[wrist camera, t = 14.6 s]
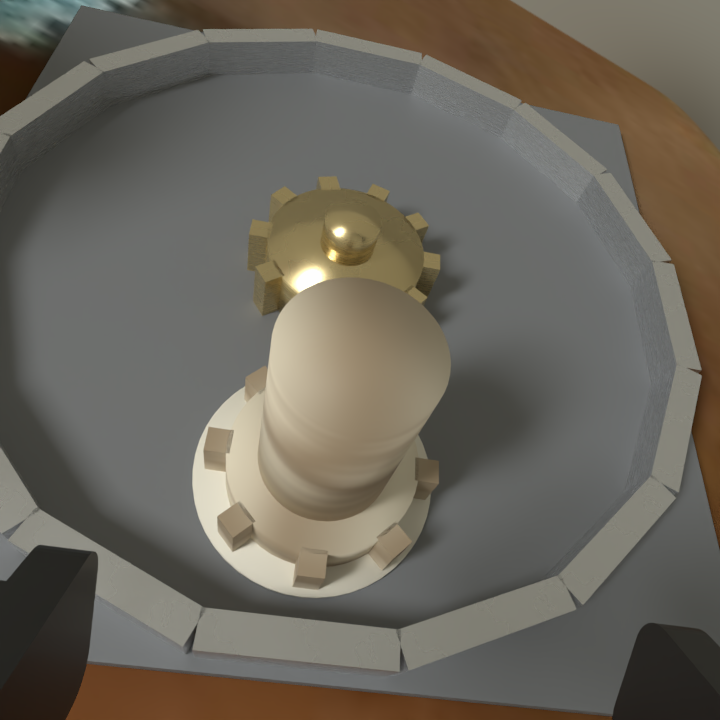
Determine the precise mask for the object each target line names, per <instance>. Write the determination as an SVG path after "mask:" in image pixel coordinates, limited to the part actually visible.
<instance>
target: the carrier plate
mask: <svg viewBox="0 0 720 720" xmlns="http://www.w3.org/2000/svg"><path fill="white" fill-rule="evenodd" d="M192 31H194V30H189V29H185V28H180V27H176V26H171V25H167V24H162V23H158V22H153V21H149V20H144V19H140V18H135V17H131V16H126V15H122V14H117V13H113V12H108V11H104V10H100V9H95V8H91V7H86V6H82V5H81V7H80V9H79V11H78V12H77V14H76V16H75V17H74V19H73V21H72V22H71V24H70V26H69V27H68V29H67V31H66V32H65V34H64V36H63V37H62V39H61V41H60V42H59V44H58V46H57V47H56V49H55V51H54V52H53V54H52V56H51V57H50V59H49V61H48V62H47V64H46V66H45V68H44V69H43V71H42V73H41V74H40V76H39V78H38V79H37V81H36V83H35V84H34V86H33V88H32V89H31V91H30V93H29V94H28V96H27V98H29V97H30V96H32V95H33V94H35V93H36V92H38V91H39V90H41V89H42V88H44V87H45V86H47V85H49V84H50V83H52V82H53V81H55V80H56V79H58V78H59V77H61V76H62V75H64V74H65V73H67V72H68V71H70V70H71V69H73V68H74V67H76V66H77V65H79V64H80V63H82V62H83V61H85V62H87V63H89V64H90V61H89V59H91V58H94V57H98V56H102V55H106V54H109V53H113V52H117V51H121V50H124V49H128V48H132V47H136V46H139V45H143V44H147V43H151V42H154V41H158V40H162V39H166V38H169V37H173V36H177V35H181V34H184V33H188V32H192ZM200 33H202V34H203V32H200ZM27 98H26V99H27ZM26 99H25V100H26ZM520 105H522V103H520ZM520 105H519V106H520ZM529 106H530V107H531V108H533V109H534V110H535V111H536V112H537V113H539V114H540V115H541V116H542V117H544V118H545V119H546V120H547V121H549V122H550V123H551V124H552V125H553V126H555V127H556V128H557V129H558V130H560V131H561V132H562V133H563V134H565V135H566V136H567V137H568V138H569V139H571V140H572V141H573V142H574V143H576V144H577V145H578V146H579V147H581V148H582V149H583V150H584V151H585V152H587V153H588V154H589V155H590V156H592V157H593V158H594V159H595V160H597V161H598V162H599V163H600V164H601V165H603V166H604V167H605V168H606V169H607V171H606V172H605V173H611V174H612V175H613V177H614V178H615V180H616V181H617V182H618V184H619V185H620V187H621V188H622V190H623V191H624V192H625V194H626V195H627V197H628V198H629V200H630V201H631V203H632V204H633V205H634V207H635V208H636V210H637V211H638V213H639V209H638V205H637V201H636V196H635V192H634V188H633V184H632V179H631V175H630V171H629V167H628V163H627V158H626V154H625V150H624V146H623V142H622V137H621V133H620V129H619V125H616V124H612V123H607V122H603V121H598V120H594V119H589V118H585V117H580V116H576V115H571V114H567V113H562V112H558V111H553V110H549V109H544V108H540V107H535V106H531V105H529ZM331 176H337V180H338V183H339V186H340V188H345V189H351V190H356V191H360V192H364V193H367V192H368V191H369V189H370V187H371V186H372V184H375V185H377V186H379V187H382V188H384V189H386V190H388V191H390V192H389V196H388V199H387V203H388V204H390V205H391V206H393V207H394V208H396V209H397V210H398V211H399V212H401V213H402V214H403V215H404V216H405V217H406V216H409V215H412V214H415V213H418V212H419V214H420V215H421V216H422V217H423V219H424V220H425V221H426V222H427V224H428V225H429V227H428V229H427V232H426V234H425V237H424V239H423V242H422V246H423V251H424V252H429V253H434V254H439V255H440V271H439V274H438V276H437V278H436V280H435V282H434V284H433V287H432V289H431V291H430V293H429V295H428V298H427V300H426V302H425V304H424V307H425V308H426V309H427V310H428V311H429V312H430V314H431V315H432V316H433V317H434V318H435V320H436V321H437V323H438V324H439V326H440V327H441V329H442V331H443V333H444V335H445V338H446V340H447V343H448V347H449V351H450V358H451V371H450V377H449V382H448V385H447V388H446V390H445V393H444V394H443V396H442V398H441V399H440V401H439V403H438V404H437V406H436V407H435V409H434V410H433V412H432V414H431V415H430V417H429V418H428V420H427V421H426V423H425V425H424V426H423V428H422V429H421V431H420V432H419V434H418V436H417V437H416V439H415V443H416V446H417V451H418V457H419V458H423V459H430V460H437V461H439V484H438V485H437V486H436V488H435V489H434V490H433V491H432V492H431V494H430V495H429V496H428V497H427V498H426V500H422V499H415V498H413V500H412V502H411V504H410V506H409V508H408V510H407V511H406V513H405V515H404V516H403V517H402V519H401V520H400V521H399V523H398V525H399V526H400V528H401V529H402V530H403V531H404V532H405V534H406V535H407V536H408V537H409V538H410V540H411V541H412V543H411V544H410V545H409V546H408V547H407V548H406V549H405V550H404V551H403V552H402V553H401V554H400V555H399V556H398V557H397V558H396V559H395V560H394V561H393V562H391V563H390V564H389V565H388V566H387V567H386V568H385V569H383V570H381V569H380V568H379V566H378V565H377V564H376V563H375V561H374V560H373V559H372V558H371V556H370V555H369V554H366V555H364V556H362V557H360V558H358V559H356V560H354V561H351V562H348V563H346V564H341V565H336V566H330V567H326V574H325V579H324V581H323V583H322V584H321V586H320V587H319V589H318V590H313V589H305V588H296V587H292V585H293V577H294V569H295V564H293V563H290V562H287V561H284V560H282V559H280V558H278V557H276V556H274V555H272V554H270V553H269V552H267V551H266V550H264V549H263V548H261V547H260V546H259V545H258V544H257V543H255V542H254V541H253V540H252V539H249V540H248V541H247V542H245V543H244V544H243V545H241V546H240V547H238V548H237V549H236V550H234V551H233V552H232V551H231V550H230V548H229V547H228V545H227V544H226V543H225V541H224V540H223V539H222V537H221V536H220V534H219V533H218V527H217V516H218V515H220V514H221V513H223V512H224V511H225V510H227V509H228V508H230V507H231V506H230V502H229V499H228V496H227V489H226V472H222V471H215V470H208V469H205V467H204V452H203V449H204V445H205V441H206V436H207V432H208V427H214V428H221V429H227V430H231V428H232V426H233V424H234V421H235V419H236V417H237V416H238V414H239V413H240V411H241V409H242V408H243V407H244V406H245V404H246V403H247V402H246V401H245V400H244V395H245V379H246V377H247V376H248V375H250V374H252V373H253V372H255V371H257V370H258V369H260V368H262V367H263V366H266V367H267V368H268V363H269V355H270V347H271V339H272V332H273V329H274V325H275V322H276V320H277V318H278V316H279V314H280V312H279V311H278V310H277V311H274V312H272V313H269V314H266V315H263V316H262V315H261V313H260V312H259V310H258V308H257V307H256V305H255V303H254V302H253V293H254V279H255V271H249V270H247V263H248V244H249V232H250V228H251V224H252V219H254V220H259V221H264V222H269V211H270V200H271V195H272V194H273V193H275V192H276V191H278V190H279V189H281V188H283V187H284V186H285V187H287V188H288V189H289V190H290V191H292V192H293V193H294V194H296V195H300V194H302V193H305V192H308V191H312V190H316V186H317V181H318V177H331ZM639 214H640V213H639ZM650 387H651V384H650V379H649V374H648V369H647V365H646V360H645V355H644V350H643V345H642V340H641V336H640V331H639V326H638V321H637V316H636V312H635V307H634V302H633V297H632V292H631V288H630V285H629V283H628V282H627V280H626V279H625V277H624V276H623V274H622V273H621V271H620V269H619V268H618V266H617V265H616V263H615V262H614V260H613V259H612V257H611V255H610V254H609V252H608V251H607V249H606V248H605V246H604V245H603V243H602V241H601V240H600V238H599V237H598V235H597V234H596V232H595V231H594V229H593V227H592V226H591V224H590V223H589V221H588V220H587V218H586V217H585V215H584V213H583V212H582V210H581V209H580V207H579V206H578V204H577V203H576V202H575V201H574V200H573V199H572V198H571V197H569V196H568V195H567V194H566V193H565V192H564V191H562V190H561V189H560V188H559V187H558V186H556V185H555V184H554V183H553V182H552V181H551V180H549V179H548V178H547V177H546V176H545V175H544V174H542V173H541V172H540V171H539V170H538V169H537V168H535V167H534V166H533V165H532V164H531V163H529V162H528V161H527V160H526V159H525V158H524V157H522V156H521V155H520V154H519V153H518V152H517V151H515V150H514V149H513V148H512V147H511V146H509V145H508V144H507V143H506V142H505V141H504V140H502V139H501V138H499V137H497V136H495V135H493V134H491V133H489V132H487V131H485V130H483V129H481V128H479V127H477V126H475V125H473V124H471V123H469V122H467V121H464V120H462V119H460V118H458V117H456V116H454V115H452V114H450V113H448V112H446V111H444V110H442V109H440V108H438V107H436V106H434V105H432V104H429V103H427V102H425V101H423V100H421V99H419V98H417V97H415V96H413V95H411V94H406V93H402V92H397V91H393V90H388V89H384V88H379V87H374V86H370V85H365V84H361V83H356V82H352V81H347V80H343V79H338V78H333V77H329V76H324V75H320V74H315V73H290V74H252V75H215V76H207V77H204V78H200V79H197V80H194V81H191V82H187V83H184V84H181V85H178V86H175V87H171V88H168V89H165V90H162V91H158V92H155V93H152V94H149V95H145V96H142V97H139V98H136V99H133V100H129V101H126V102H123V103H120V104H116V105H113V106H110V107H108V108H107V109H105V110H104V111H103V112H101V113H100V114H99V115H97V116H96V117H95V118H93V119H92V120H91V121H89V122H88V123H87V124H85V125H84V126H83V127H81V128H80V129H78V130H77V131H76V132H74V133H73V134H72V135H70V136H69V137H68V138H66V139H65V140H64V141H62V142H61V143H60V144H58V145H57V146H56V147H54V148H53V149H51V150H50V151H49V152H47V153H46V154H45V155H43V156H42V157H41V158H39V159H38V160H37V161H35V162H34V163H33V164H31V165H30V166H29V167H27V168H26V169H24V170H23V171H22V173H21V175H20V177H19V178H18V180H17V182H16V184H15V186H14V188H13V189H12V191H11V193H10V195H9V197H8V199H7V201H6V202H5V204H4V206H3V208H2V210H1V212H0V443H1V444H2V446H3V447H4V449H5V451H6V452H7V454H8V455H9V457H10V459H11V460H12V462H13V463H14V465H15V467H16V468H17V470H18V471H19V473H20V475H21V476H22V478H23V479H24V481H25V483H26V484H27V486H28V487H29V489H30V491H31V492H32V494H33V495H34V497H35V499H36V500H37V502H38V503H39V505H40V507H41V508H42V510H43V511H44V512H45V513H47V514H49V515H50V516H52V517H54V518H55V519H57V520H59V521H60V522H62V523H64V524H65V525H67V526H69V527H70V528H72V529H74V530H75V531H77V532H79V533H80V534H82V535H84V536H85V537H87V538H89V539H90V540H92V541H94V542H95V543H97V544H99V545H100V546H102V547H104V548H105V549H107V550H109V551H110V552H112V553H114V554H115V555H117V556H119V557H121V558H122V559H124V560H126V561H127V562H129V563H131V564H132V565H134V566H136V567H137V568H139V569H141V570H142V571H144V572H146V573H147V574H149V575H151V576H152V577H154V578H156V579H157V580H159V581H161V582H162V583H164V584H166V585H167V586H169V587H171V588H172V589H174V590H176V591H177V592H179V593H181V594H182V595H184V596H186V597H187V598H189V599H191V600H192V601H194V602H196V603H197V604H199V605H201V606H202V607H204V608H213V609H222V610H231V611H239V612H248V613H257V614H266V615H275V616H283V617H292V618H301V619H310V620H319V621H327V622H336V623H345V624H354V625H363V626H372V627H380V628H389V629H401V628H404V627H407V626H410V625H413V624H416V623H419V622H422V621H425V620H428V619H431V618H434V617H437V616H440V615H443V614H445V613H448V612H451V611H454V610H457V609H460V608H463V607H466V606H469V605H472V604H475V603H478V602H481V601H484V600H487V599H490V598H493V597H496V596H499V595H502V594H505V593H507V592H510V591H513V590H516V589H519V588H522V587H525V586H528V585H531V584H534V583H537V582H540V581H541V580H542V579H543V578H544V576H545V575H546V574H547V573H548V572H549V571H550V570H551V569H552V568H553V567H554V566H555V565H556V564H557V563H558V562H559V561H560V560H561V558H562V557H563V556H564V555H565V554H566V553H567V552H568V551H569V550H570V549H571V548H572V547H573V546H574V545H575V544H576V543H577V542H578V540H579V539H580V538H581V537H582V536H583V535H584V534H585V533H586V532H587V531H588V530H589V529H590V528H591V527H592V526H593V525H594V524H595V522H596V521H597V520H598V519H599V518H600V517H601V516H602V515H603V514H604V513H605V512H606V511H607V510H608V509H609V508H610V507H611V506H612V504H613V503H614V502H615V501H616V500H617V499H618V498H619V497H620V496H621V495H622V494H623V493H624V489H625V485H626V481H627V477H628V474H629V470H630V466H631V462H632V458H633V454H634V450H635V446H636V442H637V438H638V434H639V430H640V427H641V423H642V419H643V415H644V411H645V407H646V403H647V399H648V395H649V391H650ZM674 496H675V497H676V499H675V500H674V501H673V502H672V503H671V505H670V506H669V507H668V508H667V509H666V510H665V511H664V513H663V514H662V515H661V516H660V517H659V518H658V519H657V521H656V522H655V523H654V524H653V525H652V526H651V528H650V529H649V530H648V531H647V532H646V533H645V534H644V536H643V537H642V538H641V539H640V540H639V541H638V542H637V544H636V545H635V546H634V547H633V548H632V549H631V551H630V552H629V553H628V554H627V555H626V556H625V557H624V559H623V560H622V561H621V562H620V563H619V564H618V565H617V567H616V568H615V569H614V570H613V571H612V572H611V573H610V575H609V576H608V577H607V578H606V579H605V580H604V582H603V583H602V584H601V585H600V586H599V587H598V588H597V590H596V591H595V592H594V593H593V594H592V595H591V596H590V598H589V599H588V600H587V601H586V602H585V603H584V605H582V606H579V607H577V608H576V609H577V610H574V611H571V612H569V613H566V614H563V615H561V616H558V617H555V618H553V619H550V620H547V621H544V622H542V623H539V624H536V625H533V626H531V627H528V628H525V629H522V630H520V631H517V632H514V633H511V634H509V635H506V636H503V637H500V638H498V639H495V640H492V641H489V642H487V643H484V644H481V645H478V646H476V647H473V648H470V649H467V650H465V651H462V652H459V653H456V654H454V655H451V656H448V657H445V658H443V659H440V660H437V661H434V662H432V663H429V664H426V665H423V666H421V667H418V668H415V669H412V670H410V671H407V672H404V673H401V674H399V675H396V676H393V675H390V676H388V677H376V676H366V675H357V674H347V673H337V672H328V671H318V670H309V669H299V668H289V667H280V666H270V665H260V664H251V663H241V662H231V661H222V660H212V659H203V658H195V657H194V654H193V651H192V649H193V644H194V643H193V644H192V646H191V648H190V649H189V651H188V653H187V654H184V653H183V652H181V651H179V650H178V649H176V648H174V647H173V646H171V645H169V644H168V643H166V642H165V641H163V640H161V639H160V638H158V637H156V636H155V635H153V634H151V633H150V632H148V631H146V630H145V629H143V628H142V627H140V626H138V625H137V624H135V623H133V622H132V621H130V620H128V619H127V618H125V617H123V616H122V615H120V614H119V613H117V612H115V611H114V610H112V609H110V608H109V607H107V606H105V605H104V604H102V603H100V602H99V601H97V600H96V599H95V601H94V611H93V620H92V629H91V639H90V648H89V655H88V660H87V664H96V665H106V666H116V667H125V668H135V669H145V670H155V671H165V672H175V673H185V674H195V675H205V676H215V677H225V678H235V679H245V680H255V681H265V682H275V683H284V684H294V685H304V686H314V687H324V688H334V689H344V690H354V691H364V692H374V693H384V694H394V695H404V696H414V697H424V698H434V699H443V700H453V701H463V702H473V703H483V704H493V705H503V706H513V707H523V708H533V709H543V710H553V711H563V712H573V713H583V714H593V715H603V716H612V717H613V710H614V706H615V702H616V699H617V696H618V693H619V690H620V687H621V684H622V681H623V678H624V675H625V672H626V669H627V665H628V662H629V659H630V656H631V653H632V650H633V647H634V644H635V641H636V638H637V635H638V633H639V631H640V629H641V628H642V627H643V626H644V625H646V624H648V623H659V624H667V625H675V626H683V627H691V628H698V629H701V630H703V631H704V632H706V633H707V634H708V635H709V636H710V637H711V638H712V639H713V640H714V641H715V642H716V643H717V644H718V646H719V647H720V550H719V546H718V541H717V537H716V533H715V529H714V525H713V520H712V516H711V512H710V508H709V504H708V499H707V495H706V491H705V487H704V483H703V478H702V474H701V470H700V466H699V461H698V457H697V453H696V449H695V445H694V440H693V436H692V432H691V433H690V439H689V444H688V449H687V454H686V459H685V464H684V469H683V474H682V479H681V484H680V489H679V493H677V494H675V495H674ZM25 558H26V557H25V556H24V555H23V554H22V553H21V552H20V551H19V550H18V549H16V548H15V547H14V546H13V545H12V544H11V543H10V542H9V541H8V540H7V539H6V538H5V537H4V536H3V535H2V534H1V532H0V580H3V581H7V579H8V578H9V577H10V576H11V575H12V574H13V572H14V571H15V570H16V569H17V568H18V566H19V565H20V564H21V563H22V562H23V560H24V559H25Z"/></svg>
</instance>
